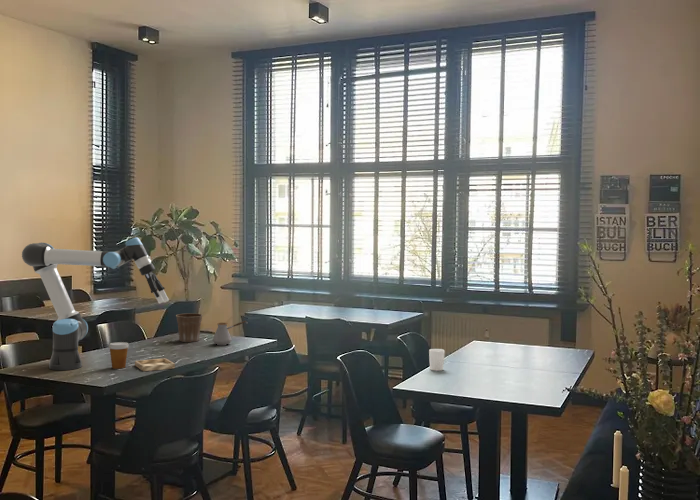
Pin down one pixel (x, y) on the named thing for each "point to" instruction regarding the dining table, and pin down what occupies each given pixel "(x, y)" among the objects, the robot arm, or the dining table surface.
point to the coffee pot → (223, 334)
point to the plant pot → (189, 326)
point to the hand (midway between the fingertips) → (164, 302)
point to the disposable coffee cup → (118, 354)
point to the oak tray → (154, 364)
